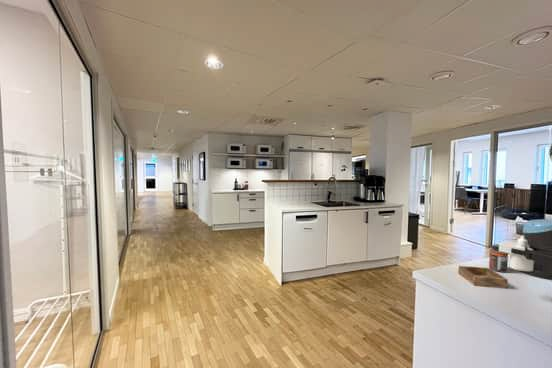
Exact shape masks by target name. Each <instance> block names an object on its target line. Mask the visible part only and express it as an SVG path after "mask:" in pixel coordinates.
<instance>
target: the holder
mask: <svg viewBox="0 0 552 368" xmlns="http://www.w3.org/2000/svg"><path fill="white" fill-rule="evenodd" d="M457 272H458V275H460V276H461V277H462V278H464V279H465V280H466V281H467V280H468V281H467V282H469V284H470V283H471V285H473V286H475V287H485V288H486V287H487V288H499V289H500V288H501V289H508V282H509V279H508V278H507V277H505V276H503V275H501V274H499V272H497V271H494V270H492V269H490V268H489V267H484V266H483V267H482V266H467V265H466V266H465V265H458V271H457Z"/></svg>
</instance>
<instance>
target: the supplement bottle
mask: <svg viewBox="0 0 552 368" xmlns="http://www.w3.org/2000/svg"><path fill="white" fill-rule="evenodd" d="M508 258H509V253H505V252H501V251H499V243H498V244H497V243H495V244H492V248H490V250H489V261H488V268H489V269H491V270H493V271H494V272H496V273H507V272H508V261H509V260H508Z"/></svg>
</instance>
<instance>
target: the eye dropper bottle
mask: <svg viewBox="0 0 552 368" xmlns="http://www.w3.org/2000/svg"><path fill="white" fill-rule="evenodd" d="M516 243H517V245H516V247H521V248H525V247H527V244H528V241H527V240H526V239H525V237H524V236H523V235H520V238H518V239H517V242H516ZM527 248H528V250H533V249H531V248H529V247H527ZM533 251H534V250H533ZM509 254H510V253H509ZM509 257H510V258H509V267H510V268H511V269H512V270H515V271H519V270H520V272H521V271H533V262H534V261H533V260H528V259H526V257H524V256H520V255H515V254H510V255H509Z"/></svg>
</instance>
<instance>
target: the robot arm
mask: <svg viewBox="0 0 552 368" xmlns="http://www.w3.org/2000/svg"><path fill="white" fill-rule="evenodd" d="M548 152H549V153H548V155H549V159H550V161H551V162H552V144H551V145H550V147H549V150H548ZM522 236H524V237H525V239H526V240H527V241H528V244H527V247H529V248H531V249H533V250H534V251H533V250H528V248H527V247H525V248H521V247H516V245H517V242H513V241H512V242H511V241H507V240H503V242H502V243H498V245H499V251H501V252H505V253H508V254H515V255H520V256H524V257H526V259H528V260H533V261H534V262H533V271H520V270H518V271H520V272H522V273H523V274H526V275H529V276H532V277H536V278H541V279H546V280H552V219H531V220H526V221H525V222H524V224H523V229H522Z"/></svg>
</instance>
